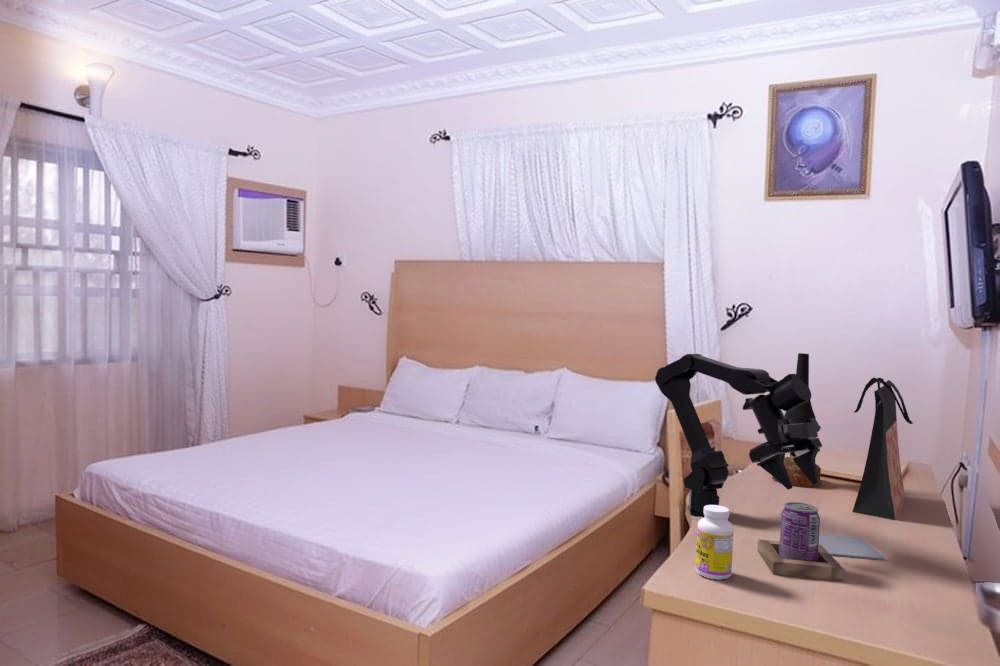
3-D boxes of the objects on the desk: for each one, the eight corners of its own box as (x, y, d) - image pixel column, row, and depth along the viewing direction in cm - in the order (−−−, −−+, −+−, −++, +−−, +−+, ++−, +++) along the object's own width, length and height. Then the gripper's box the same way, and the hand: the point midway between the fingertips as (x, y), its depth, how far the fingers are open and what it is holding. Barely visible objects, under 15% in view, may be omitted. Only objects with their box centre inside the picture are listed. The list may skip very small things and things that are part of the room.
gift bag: (855, 490, 194) (862, 371, 193) (912, 499, 186) (920, 376, 184) (837, 512, 170) (845, 378, 169) (901, 525, 162) (910, 383, 160)
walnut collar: (773, 574, 128) (773, 561, 128) (757, 550, 140) (758, 539, 140) (842, 580, 126) (842, 567, 126) (820, 556, 138) (820, 544, 138)
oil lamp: (779, 484, 210) (766, 360, 217) (831, 485, 201) (816, 355, 208) (767, 487, 199) (754, 356, 206) (822, 488, 190) (806, 351, 197)
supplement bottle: (689, 567, 130) (693, 502, 129) (722, 567, 130) (725, 503, 130) (703, 581, 123) (706, 513, 123) (737, 581, 124) (740, 513, 123)
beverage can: (814, 561, 135) (818, 504, 135) (819, 574, 128) (822, 513, 128) (777, 556, 138) (780, 499, 137) (779, 568, 131) (783, 508, 130)
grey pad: (819, 554, 139) (819, 552, 139) (800, 533, 152) (800, 532, 152) (885, 560, 138) (885, 558, 138) (860, 538, 150) (860, 537, 150)
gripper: (773, 407, 138) (807, 478, 132) (824, 403, 148) (859, 469, 142) (734, 428, 147) (765, 496, 140) (786, 423, 157) (816, 486, 150)
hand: (803, 486), depth 143 cm, fingers open, 9 cm apart
